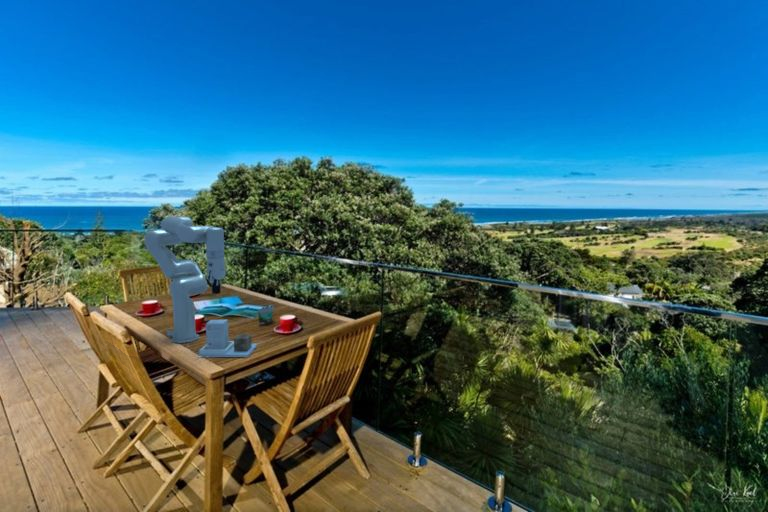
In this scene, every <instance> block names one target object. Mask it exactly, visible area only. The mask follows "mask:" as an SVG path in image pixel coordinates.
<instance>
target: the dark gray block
mask: <svg viewBox="0 0 768 512" xmlns="http://www.w3.org/2000/svg"><path fill="white" fill-rule="evenodd" d="M233 341H234V351H248V350H249V349H250V348H251V347H252V346H251V344H252V334H245V333H244V334H242V333H240V334H237V335H236V336H235V337H233Z"/></svg>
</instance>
